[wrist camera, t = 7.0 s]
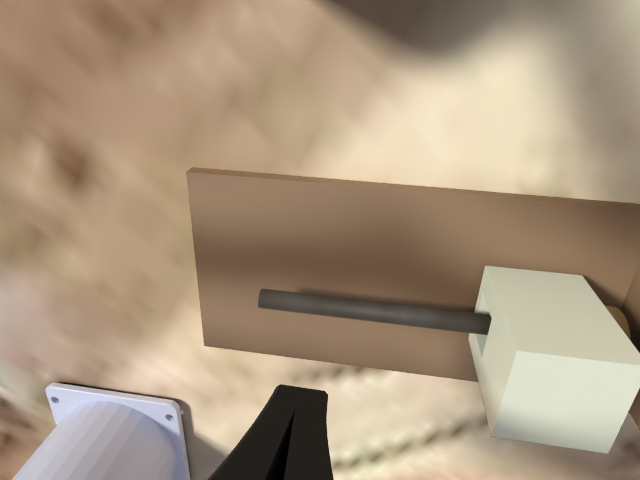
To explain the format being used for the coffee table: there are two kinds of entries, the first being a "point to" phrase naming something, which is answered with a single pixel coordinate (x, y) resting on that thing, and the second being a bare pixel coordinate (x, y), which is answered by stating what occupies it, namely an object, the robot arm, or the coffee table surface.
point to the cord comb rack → (389, 265)
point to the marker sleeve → (552, 361)
